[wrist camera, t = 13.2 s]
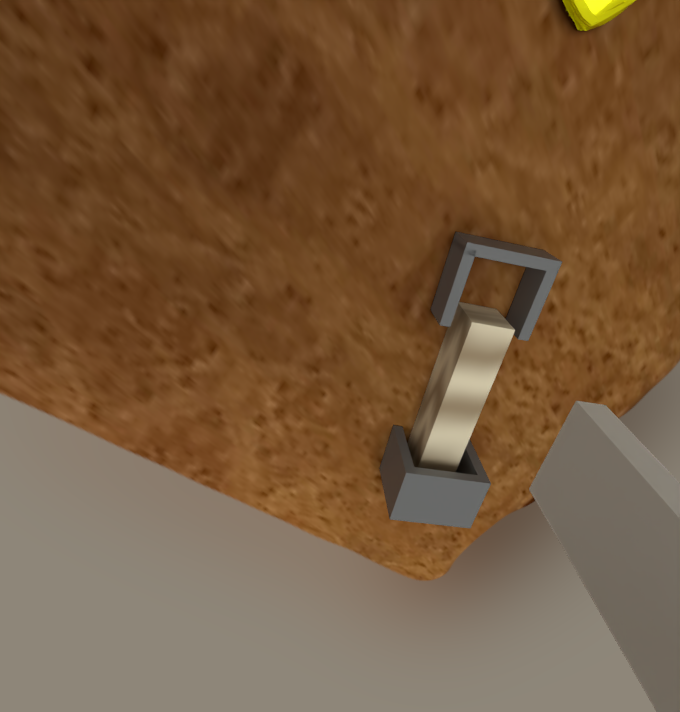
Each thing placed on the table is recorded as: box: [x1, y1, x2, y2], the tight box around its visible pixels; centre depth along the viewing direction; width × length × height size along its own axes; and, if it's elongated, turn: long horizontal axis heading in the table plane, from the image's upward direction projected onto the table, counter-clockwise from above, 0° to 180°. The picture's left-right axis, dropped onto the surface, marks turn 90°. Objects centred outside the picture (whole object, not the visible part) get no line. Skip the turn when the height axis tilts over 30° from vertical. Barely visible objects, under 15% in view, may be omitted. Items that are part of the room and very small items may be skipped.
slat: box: [407, 302, 515, 472], centre depth 48 cm, size 18×4×5 cm, turn 167°
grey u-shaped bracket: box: [431, 232, 562, 341], centre depth 44 cm, size 8×8×4 cm
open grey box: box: [380, 425, 491, 528], centre depth 51 cm, size 8×6×8 cm
